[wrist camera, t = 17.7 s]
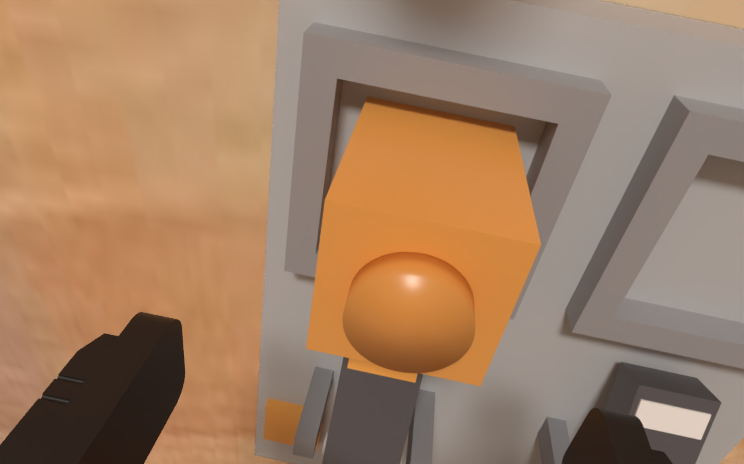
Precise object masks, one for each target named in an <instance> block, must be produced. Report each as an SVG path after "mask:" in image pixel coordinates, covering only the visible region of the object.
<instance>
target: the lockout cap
mask: <svg viewBox="0 0 744 464" xmlns="http://www.w3.org/2000/svg"><path fill="white" fill-rule="evenodd" d="M540 246H541V242H540V238H539V233H538V229H537V224H536V220H535V215H534V211H533V206H532V202H531V197H530V193H529V188H528V184H527V179H526V175H525V170H524V166H523V161H522V156H521V152H520V147H519V143H518V138H517V134H516V129H515V127H514V126H510V125H505V124H500V123H495V122H490V121H485V120H480V119H475V118H471V117H466V116H461V115H456V114H451V113H446V112H441V111H436V110H432V109H427V108H422V107H417V106H412V105H407V104H402V103H397V102H392V101H388V100H383V99H378V98H373V97H368V96H367V99H366V101H365V103H364V106H363V108H362V111H361V113H360V116H359V118H358V120H357V123H356V125H355V128H354V130H353V133H352V135H351V137H350V140H349V142H348V145H347V147H346V150H345V152H344V154H343V157H342V159H341V162H340V164H339V167H338V169H337V171H336V174H335V176H334V179H333V181H332V184H331V186H330V188H329V191H328V193H327V196H326V198H325V203H324V211H323V219H322V226H321V234H320V242H319V250H318V258H317V266H316V274H315V282H314V290H313V298H312V306H311V313H310V321H309V329H308V337H307V345H306V349H309V350H314V351H319V352H323V353H328V354H333V355H337V356H342V357H347V358H351V359H356V360H360V361H365V362H370V363H374V364H376V365H378V366H380V367H383V368H386V369H389V370H393V371H397V372H403V373H421V374H425V375H430V376H434V377H439V378H444V379H448V380H453V381H458V382H462V383H467V384H472V385H476V386H481V384H482V381H483V379H484V377H485V374H486V372H487V370H488V367H489V365H490V363H491V360H492V358H493V356H494V353H495V351H496V349H497V347H498V344H499V342H500V340H501V337H502V335H503V333H504V330H505V328H506V326H507V323H508V321H509V319H510V316H511V314H512V312H513V309H514V307H515V305H516V302H517V300H518V298H519V295H520V293H521V291H522V288H523V286H524V284H525V281H526V279H527V277H528V274H529V272H530V270H531V267H532V265H533V263H534V260H535V258H536V256H537V253H538V251H539V249H540Z"/></svg>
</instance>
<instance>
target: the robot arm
mask: <svg viewBox="0 0 744 464" xmlns="http://www.w3.org/2000/svg"><path fill="white" fill-rule="evenodd" d="M184 379H185V364H184V350H183V336H182V325H181V322H180V321H179V320H177V319H173V318H168V317H163V316H158V315H153V314H148V313H144V312H140V313H138V314H136V315H135V316H134V317H133V318H132V319H131V321H130V322H129V323H128V325H127V326H126V327H125V329H124V330H123V331H122V333H121V334H120V335H119V336H114V335H110V334H103V335H101V336H100V337H98V338H97V339H95V340H94V341H92V342H91V343H89V344H88V345H86V346H85V347H83V348H82V349H80V350H79V351H77V352H76V354H75V355H74V356H73V357H72V359H71V360H70V361H69V362H68V363H67V365H66V366H65V367H64V368H63V369H62V371H61V372H60V373H59V376H58V378H57V379H54V380H53V382H52V383H51V384H50V385H49V386H48V388H47V389H46V390H45V391H44V392H43V395H42V398H41V399H38V400H37V401H36V402H35V403H34V405H33V406H32V407H31V408H30V409H29V411H28V412H27V413H26V414H25V416H24V417H23V418H22V419H21V420H20V422H19V423H18V424H17V425H16V426H15V428H14V429H13V430H12V431H11V432H10V434H9V435H8V436H7V437H6V439H5V440H4V441H3V442H2V443H1V445H0V464H144V462H145V460H146V459H147V457H148V455H149V453H150V451H151V450H152V448H153V446H154V444H155V442H156V440H157V439H158V437H159V435H160V433H161V431H162V429H163V428H164V426H165V424H166V422H167V420H168V418H169V417H170V415H171V413H172V411H173V409H174V407H175V406H176V404H177V402H178V399H179V397H180V394H181V391H182V388H183V384H184ZM562 464H673V463H672V462H671V461H670V459H669V458H668V457H667V455H666V454H665V453H664V452H662V451H657V450H653V449H651V447H650V444H649V441H648V438H647V435H646V432H645V430H644V427H643V424H642V422H641V421H640V419H639V418H638V417H636V416H634V415H629V414H624V413H619V412H615V411H610V410H605V409H600V408H593V409H591V410H590V411H589V413H588V414H587V416H586V418H585V419H584V421H583V423H582V425H581V426H580V428H579V430H578V431H577V433H576V435H575V436H574V438H573V440H572V442H571V443H570V445H569V447H568V448H567V450H566V452H565V454H564V456H563V460H562Z"/></svg>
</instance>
